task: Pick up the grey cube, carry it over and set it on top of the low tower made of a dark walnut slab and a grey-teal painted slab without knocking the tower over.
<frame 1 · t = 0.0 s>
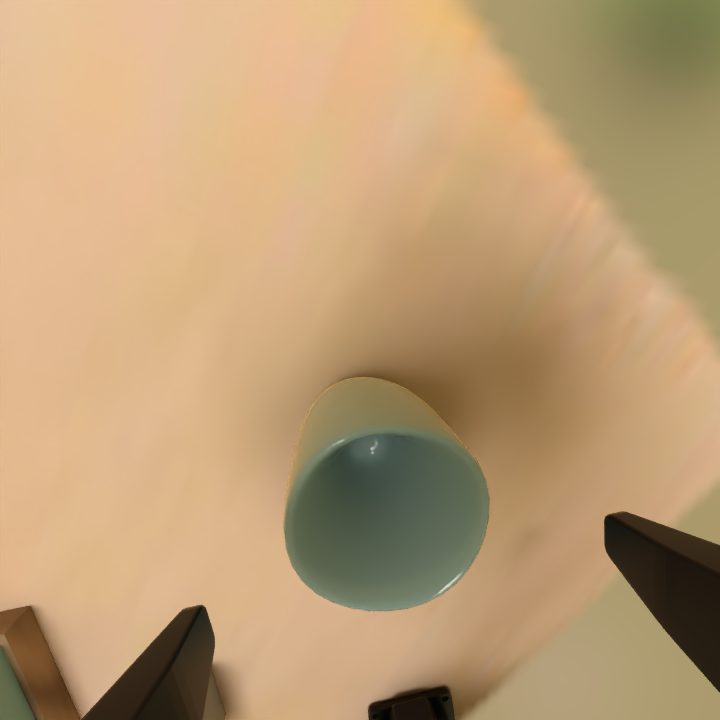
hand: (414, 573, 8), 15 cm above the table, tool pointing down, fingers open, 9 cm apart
cup: (360, 421, 23), on the table
grey cube: (182, 695, 25), on the table
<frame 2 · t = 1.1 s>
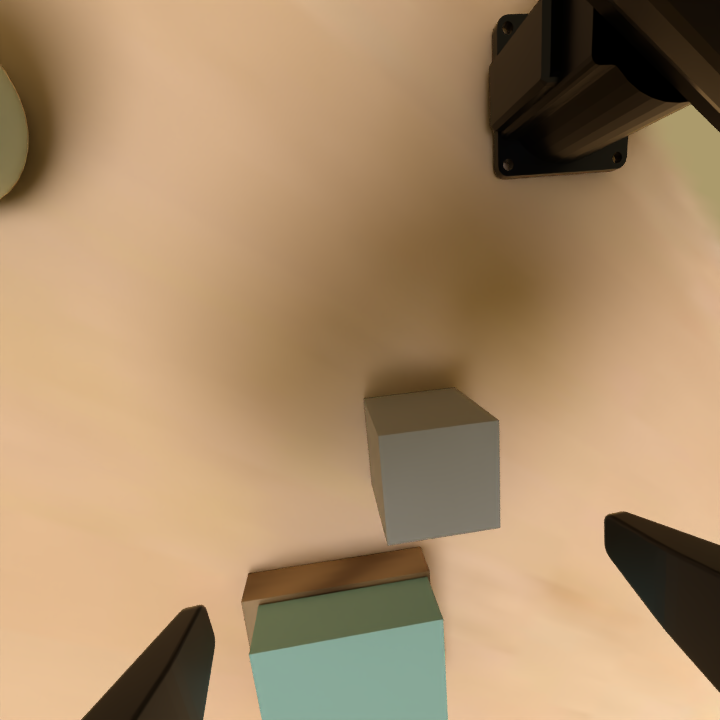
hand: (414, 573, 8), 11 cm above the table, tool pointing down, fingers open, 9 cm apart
tower top: (352, 657, 20), point 2 cm above the table, touching tower bottom
grey cube: (412, 435, 20), on the table
tower bottom: (343, 620, 22), on the table, touching tower top
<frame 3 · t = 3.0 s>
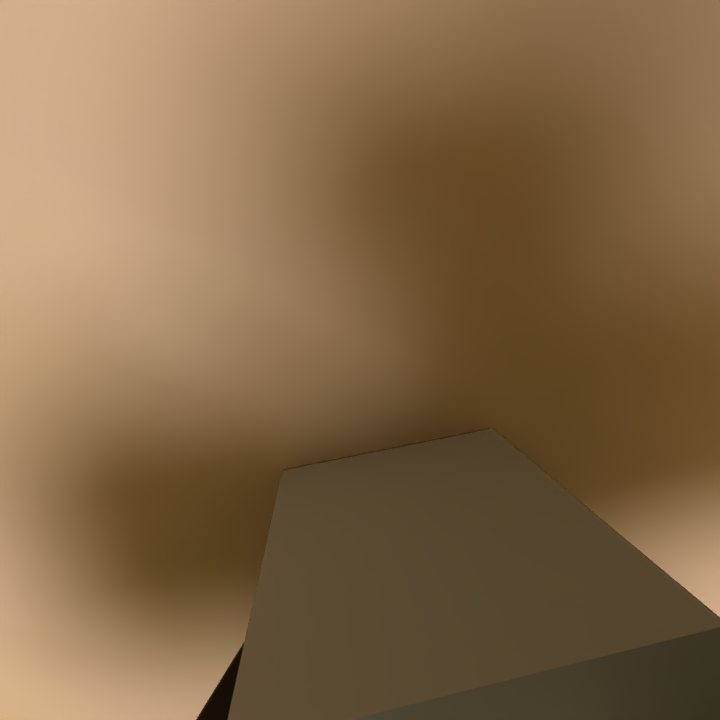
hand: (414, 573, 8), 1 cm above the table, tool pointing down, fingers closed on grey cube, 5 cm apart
grey cube: (403, 540, 9), on the table, touching gripper
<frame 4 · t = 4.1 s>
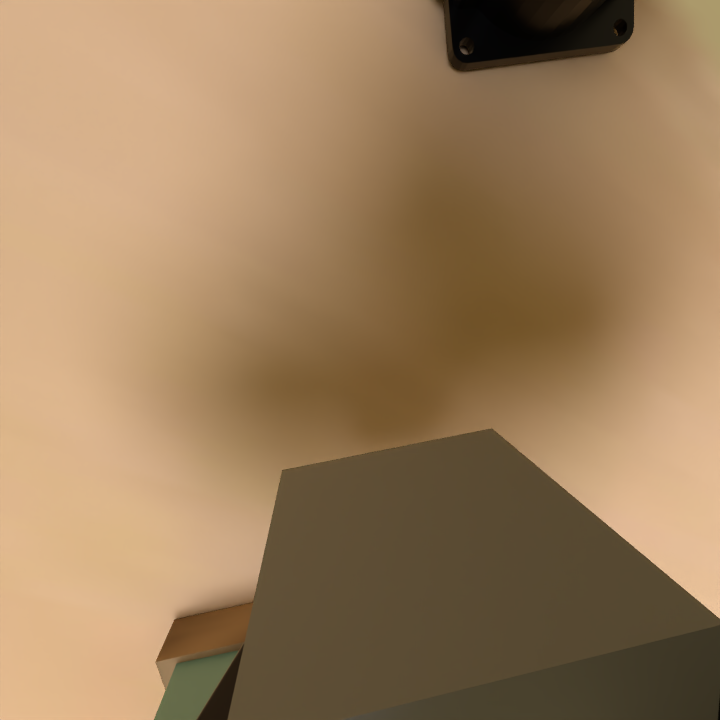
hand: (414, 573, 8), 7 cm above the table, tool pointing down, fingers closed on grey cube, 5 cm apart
grey cube: (403, 540, 9), point 6 cm above the table, touching gripper
tower bottom: (306, 665, 18), on the table, touching tower top
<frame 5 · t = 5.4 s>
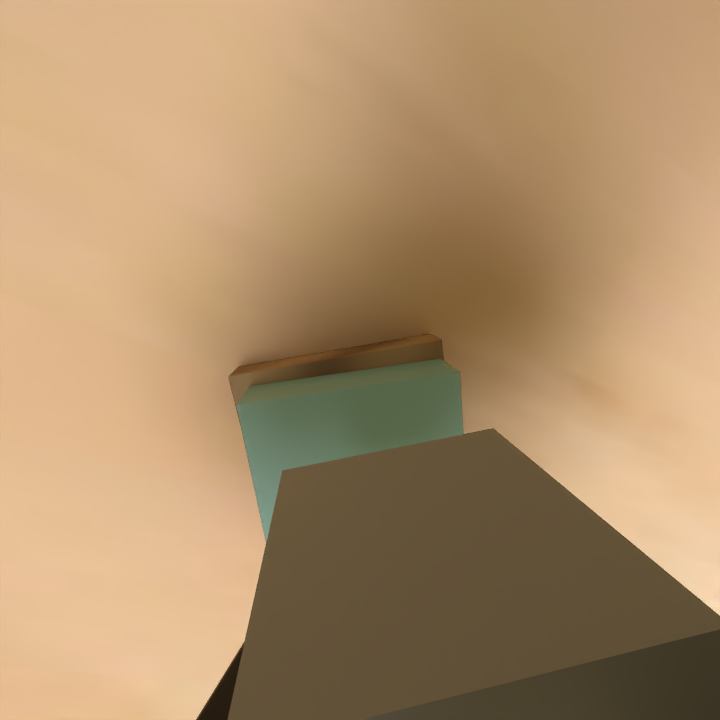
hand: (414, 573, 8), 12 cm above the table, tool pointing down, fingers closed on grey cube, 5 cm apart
tower top: (358, 458, 18), point 2 cm above the table, touching tower bottom
grey cube: (404, 541, 9), point 11 cm above the table, touching gripper
tower bottom: (350, 433, 20), on the table, touching tower top
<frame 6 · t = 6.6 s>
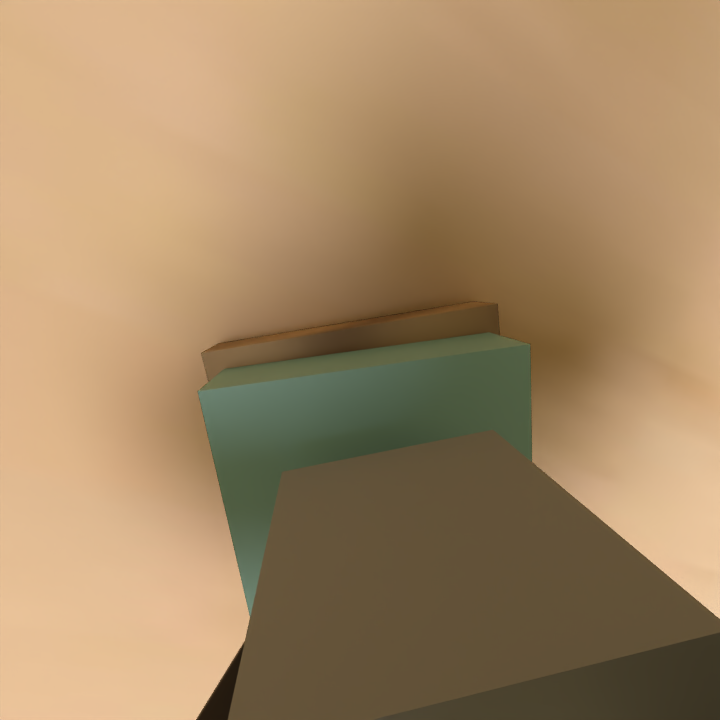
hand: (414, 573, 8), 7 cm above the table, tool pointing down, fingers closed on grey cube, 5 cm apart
tower top: (375, 470, 13), point 2 cm above the table, touching tower bottom
grey cube: (404, 542, 9), point 6 cm above the table, touching gripper
tower bottom: (366, 435, 15), on the table, touching tower top
when the fingers open (7 cm above the table, at t = 7.6 s): grey cube drops 2 cm, resting on tower top.
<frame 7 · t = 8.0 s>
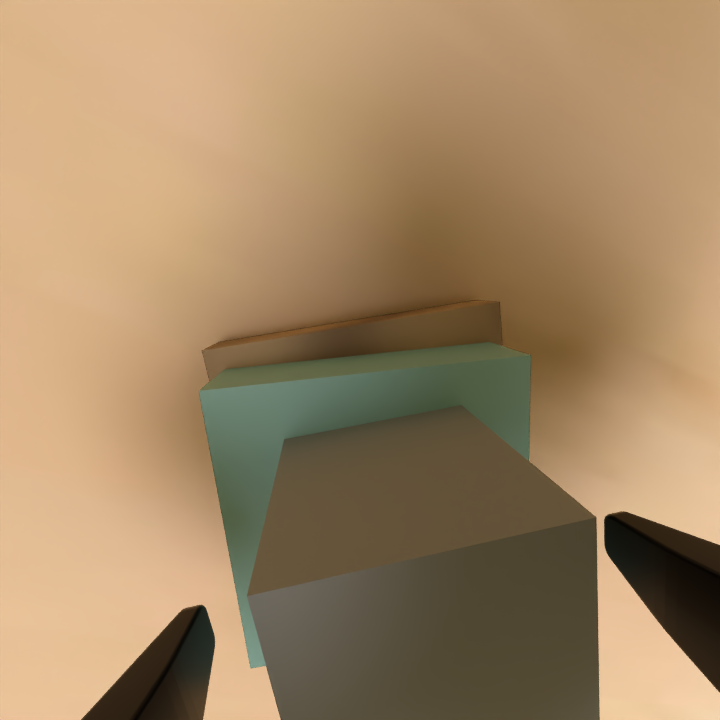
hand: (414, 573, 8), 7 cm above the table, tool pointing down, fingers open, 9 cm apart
tower top: (371, 476, 13), point 2 cm above the table, touching grey cube, tower bottom
grey cube: (387, 501, 10), point 4 cm above the table, touching tower top
tower bottom: (367, 434, 15), on the table, touching tower top
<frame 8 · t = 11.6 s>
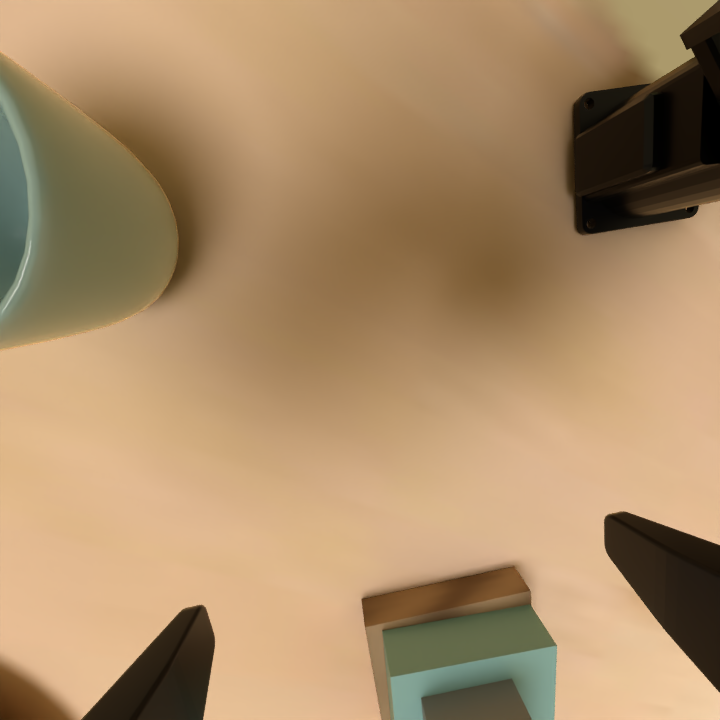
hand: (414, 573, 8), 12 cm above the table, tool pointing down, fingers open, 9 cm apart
tower top: (459, 676, 22), point 2 cm above the table, touching grey cube, tower bottom
cup: (118, 240, 17), on the table
tower bottom: (443, 635, 24), on the table, touching tower top
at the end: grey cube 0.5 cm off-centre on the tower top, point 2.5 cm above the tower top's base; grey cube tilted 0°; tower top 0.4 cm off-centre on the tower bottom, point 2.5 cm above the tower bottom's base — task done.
